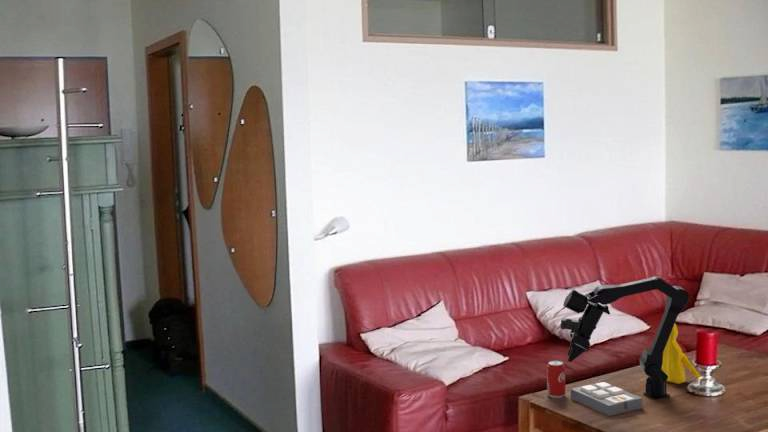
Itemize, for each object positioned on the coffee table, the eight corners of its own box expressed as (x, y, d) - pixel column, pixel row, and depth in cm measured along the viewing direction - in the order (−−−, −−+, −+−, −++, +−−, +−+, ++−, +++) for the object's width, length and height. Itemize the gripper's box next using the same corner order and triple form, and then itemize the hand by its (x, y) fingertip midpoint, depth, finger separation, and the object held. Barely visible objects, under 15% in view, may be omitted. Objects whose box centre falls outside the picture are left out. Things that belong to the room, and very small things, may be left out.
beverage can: (565, 399, 289) (564, 365, 288) (547, 398, 291) (546, 365, 289) (565, 393, 295) (564, 360, 294) (547, 392, 297) (546, 360, 295)
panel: (603, 391, 295) (602, 381, 295) (642, 408, 277) (642, 397, 277) (570, 398, 289) (570, 387, 289) (608, 416, 271) (608, 404, 271)
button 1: (590, 391, 289) (590, 384, 289) (597, 395, 285) (597, 388, 285) (580, 393, 287) (580, 386, 287) (588, 397, 284) (588, 390, 283)
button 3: (604, 388, 291) (603, 381, 291) (611, 392, 288) (611, 385, 287) (594, 390, 290) (594, 383, 289) (602, 394, 286) (602, 387, 286)
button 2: (601, 396, 283) (601, 389, 283) (609, 400, 280) (609, 392, 280) (592, 398, 282) (591, 391, 282) (599, 402, 278) (599, 394, 278)
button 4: (615, 393, 286) (615, 386, 286) (623, 396, 282) (623, 389, 282) (606, 395, 284) (606, 388, 284) (613, 399, 281) (613, 391, 280)
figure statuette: (703, 384, 298) (703, 324, 295) (691, 389, 293) (691, 328, 290) (659, 374, 312) (658, 316, 309) (647, 379, 307) (646, 320, 304)
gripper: (568, 304, 297) (548, 342, 299) (569, 312, 279) (547, 353, 281) (596, 319, 295) (576, 357, 298) (599, 328, 277) (577, 369, 279)
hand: (568, 358), depth 289 cm, fingers open, 9 cm apart
